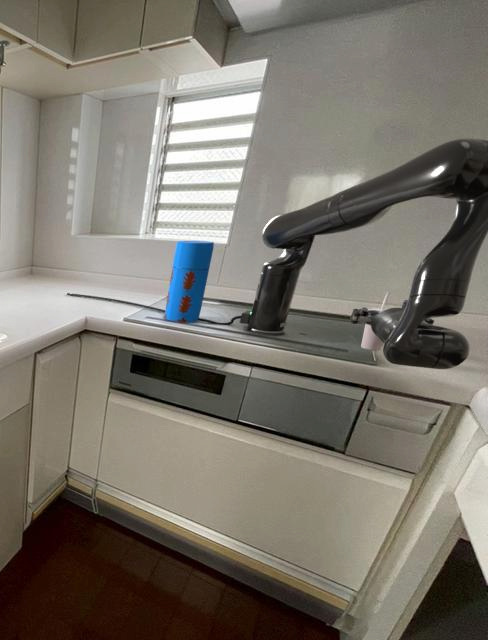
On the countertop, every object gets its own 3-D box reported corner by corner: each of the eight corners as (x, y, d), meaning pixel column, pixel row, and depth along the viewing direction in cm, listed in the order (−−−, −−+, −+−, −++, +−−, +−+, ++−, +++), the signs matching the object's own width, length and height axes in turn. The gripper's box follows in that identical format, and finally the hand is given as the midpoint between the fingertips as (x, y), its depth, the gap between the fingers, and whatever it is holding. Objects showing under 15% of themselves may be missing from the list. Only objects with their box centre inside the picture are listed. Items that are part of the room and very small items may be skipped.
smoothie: (353, 342, 105) (373, 289, 100) (386, 347, 102) (408, 292, 96) (354, 348, 101) (374, 292, 96) (388, 354, 97) (412, 296, 92)
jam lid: (404, 310, 109) (407, 302, 108) (398, 306, 113) (401, 298, 113) (433, 312, 106) (436, 305, 105) (426, 308, 111) (429, 301, 110)
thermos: (164, 321, 134) (178, 242, 125) (163, 313, 144) (175, 240, 134) (200, 323, 131) (217, 243, 121) (197, 316, 140) (212, 241, 131)
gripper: (453, 315, 82) (426, 301, 95) (362, 307, 89) (348, 295, 102) (438, 350, 85) (414, 332, 98) (350, 339, 92) (338, 323, 105)
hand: (380, 313), depth 100 cm, fingers closed on smoothie, 6 cm apart
